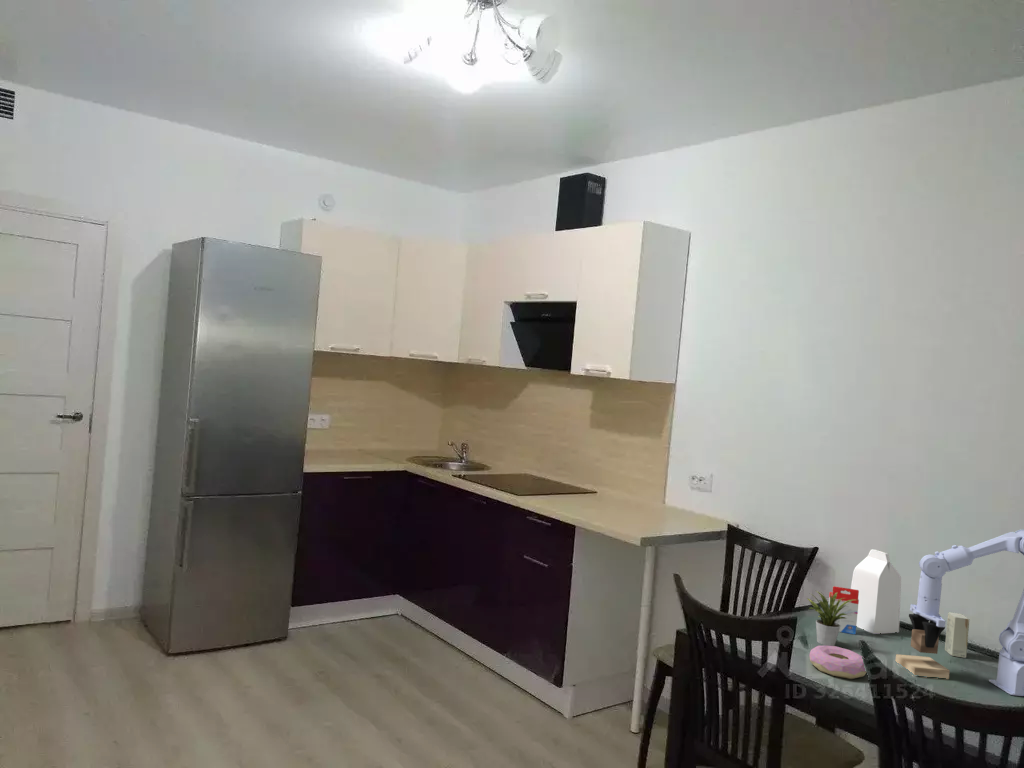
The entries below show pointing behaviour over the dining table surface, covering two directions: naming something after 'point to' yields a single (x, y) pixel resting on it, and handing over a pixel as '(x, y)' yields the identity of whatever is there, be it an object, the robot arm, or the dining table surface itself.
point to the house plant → (828, 619)
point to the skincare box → (957, 634)
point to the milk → (877, 593)
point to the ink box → (847, 609)
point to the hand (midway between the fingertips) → (924, 643)
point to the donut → (837, 661)
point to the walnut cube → (922, 642)
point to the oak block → (922, 666)
